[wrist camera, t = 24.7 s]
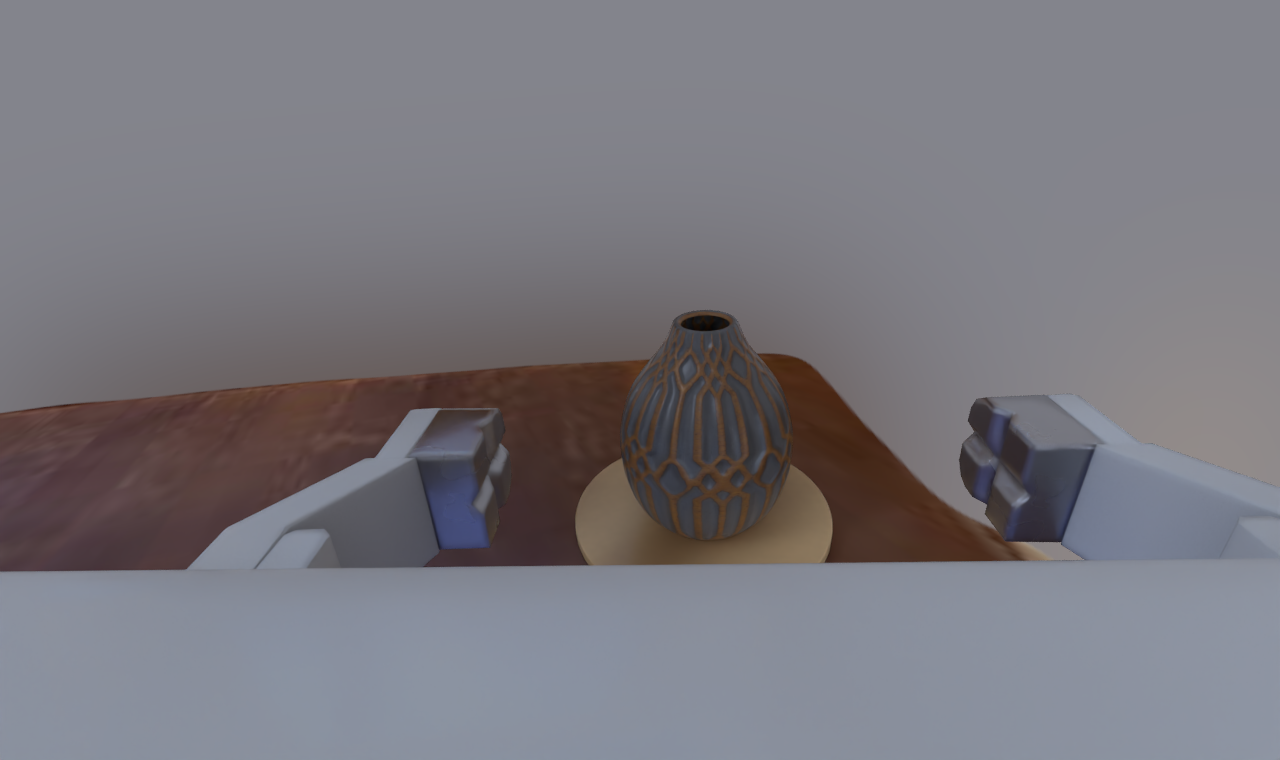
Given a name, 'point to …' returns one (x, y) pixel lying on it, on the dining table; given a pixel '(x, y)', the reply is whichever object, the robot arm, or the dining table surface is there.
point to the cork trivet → (632, 537)
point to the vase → (706, 431)
